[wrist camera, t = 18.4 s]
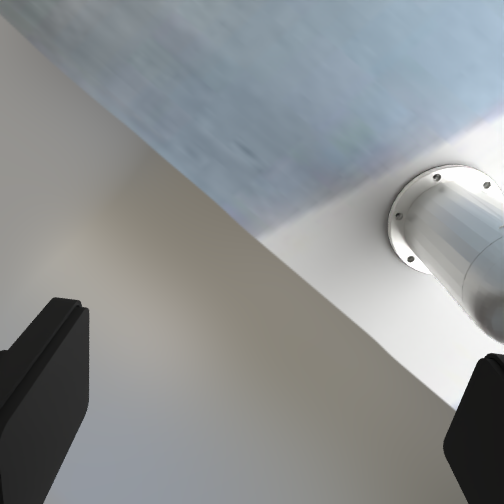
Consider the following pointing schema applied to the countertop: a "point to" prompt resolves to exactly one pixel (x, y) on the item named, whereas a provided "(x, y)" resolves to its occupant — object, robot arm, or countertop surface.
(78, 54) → the countertop surface
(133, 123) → the countertop surface
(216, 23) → the countertop surface
